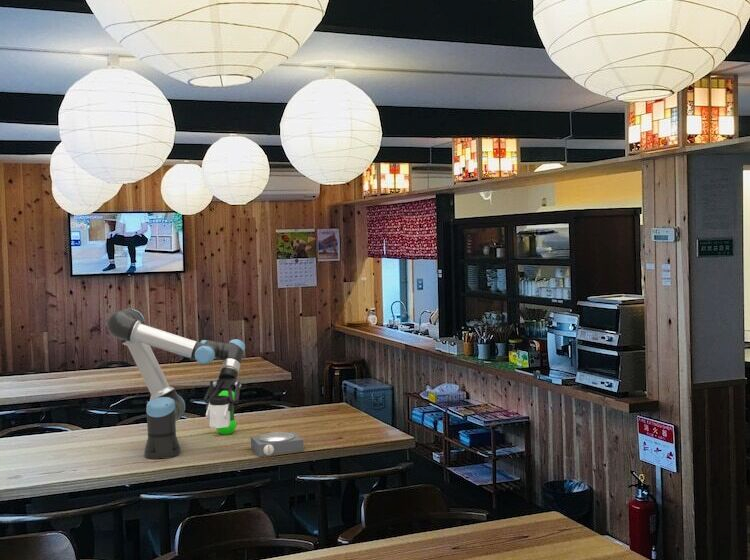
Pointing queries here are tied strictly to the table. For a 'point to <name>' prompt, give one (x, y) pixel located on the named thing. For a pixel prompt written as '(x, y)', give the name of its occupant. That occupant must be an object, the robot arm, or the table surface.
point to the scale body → (276, 446)
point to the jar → (218, 411)
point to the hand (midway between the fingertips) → (216, 417)
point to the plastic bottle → (232, 422)
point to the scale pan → (276, 437)
